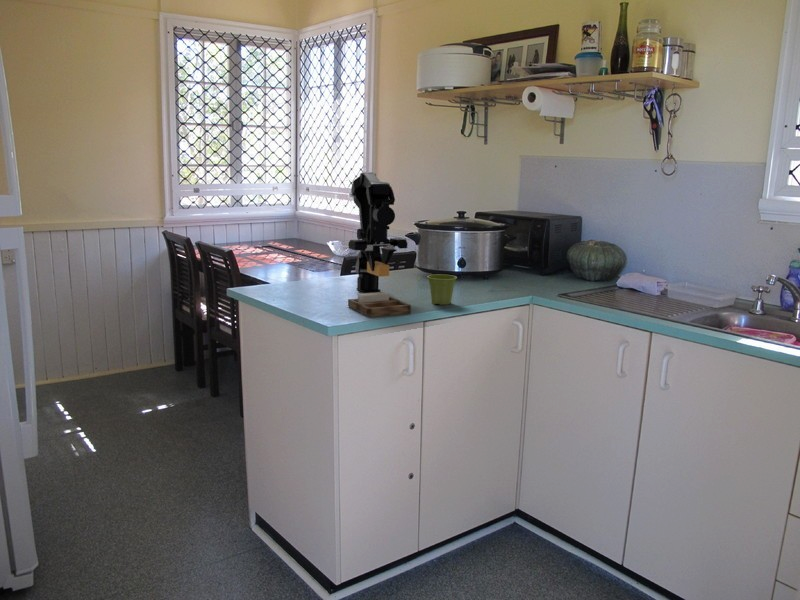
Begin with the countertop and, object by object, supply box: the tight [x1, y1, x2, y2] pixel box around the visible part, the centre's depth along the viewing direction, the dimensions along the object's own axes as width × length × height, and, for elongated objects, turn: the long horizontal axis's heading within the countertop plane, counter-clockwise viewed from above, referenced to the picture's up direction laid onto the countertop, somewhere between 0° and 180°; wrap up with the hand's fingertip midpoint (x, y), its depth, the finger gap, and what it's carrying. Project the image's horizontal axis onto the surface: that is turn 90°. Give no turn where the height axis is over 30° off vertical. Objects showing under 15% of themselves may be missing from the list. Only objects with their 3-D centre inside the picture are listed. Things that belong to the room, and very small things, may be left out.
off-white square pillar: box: [357, 291, 390, 303], centre depth 205 cm, size 9×4×4 cm, turn 118°
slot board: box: [347, 295, 412, 318], centre depth 202 cm, size 14×14×2 cm
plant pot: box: [426, 273, 458, 306], centre depth 214 cm, size 9×9×9 cm
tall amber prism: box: [367, 261, 390, 277], centre depth 216 cm, size 9×4×4 cm, turn 28°
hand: (377, 270), depth 216 cm, fingers closed on tall amber prism, 3 cm apart
